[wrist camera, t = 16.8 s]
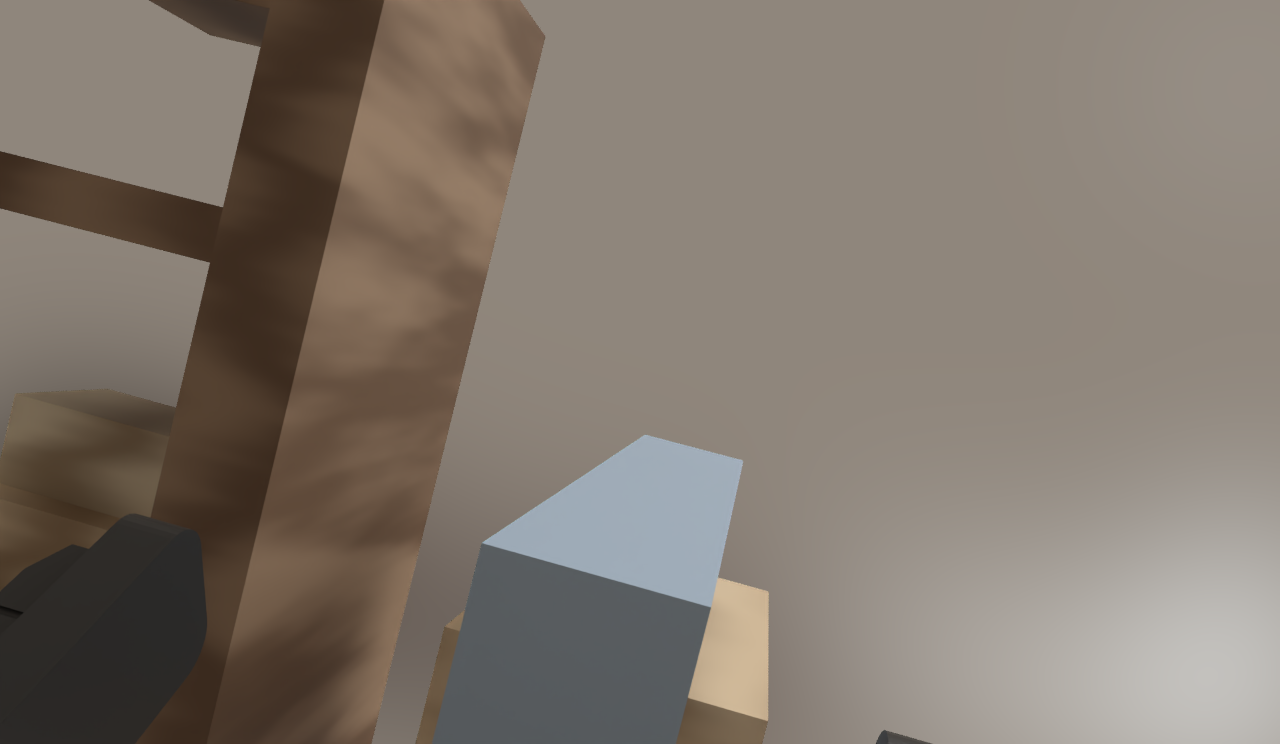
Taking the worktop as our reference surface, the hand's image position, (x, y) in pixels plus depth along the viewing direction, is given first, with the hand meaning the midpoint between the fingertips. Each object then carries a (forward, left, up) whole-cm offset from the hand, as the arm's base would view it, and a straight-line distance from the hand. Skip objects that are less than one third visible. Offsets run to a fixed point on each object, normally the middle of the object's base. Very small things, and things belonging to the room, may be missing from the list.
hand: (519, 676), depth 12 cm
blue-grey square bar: (0, +18, -4) cm, 19 cm away
